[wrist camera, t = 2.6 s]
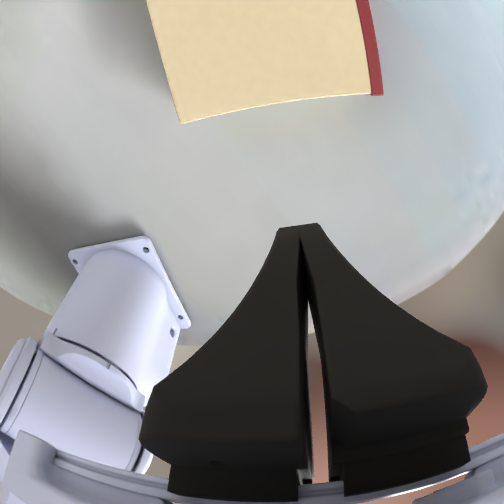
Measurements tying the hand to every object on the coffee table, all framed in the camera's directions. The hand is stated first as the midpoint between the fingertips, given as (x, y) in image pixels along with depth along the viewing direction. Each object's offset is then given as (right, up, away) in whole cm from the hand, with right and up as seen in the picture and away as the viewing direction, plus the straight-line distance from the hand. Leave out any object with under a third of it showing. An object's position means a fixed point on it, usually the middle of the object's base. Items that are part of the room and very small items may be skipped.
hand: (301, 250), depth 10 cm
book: (-2, +13, +1) cm, 13 cm away
